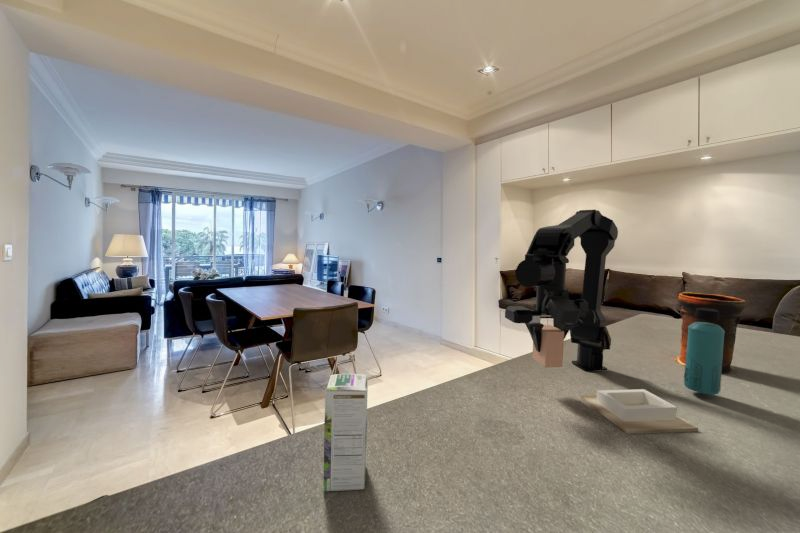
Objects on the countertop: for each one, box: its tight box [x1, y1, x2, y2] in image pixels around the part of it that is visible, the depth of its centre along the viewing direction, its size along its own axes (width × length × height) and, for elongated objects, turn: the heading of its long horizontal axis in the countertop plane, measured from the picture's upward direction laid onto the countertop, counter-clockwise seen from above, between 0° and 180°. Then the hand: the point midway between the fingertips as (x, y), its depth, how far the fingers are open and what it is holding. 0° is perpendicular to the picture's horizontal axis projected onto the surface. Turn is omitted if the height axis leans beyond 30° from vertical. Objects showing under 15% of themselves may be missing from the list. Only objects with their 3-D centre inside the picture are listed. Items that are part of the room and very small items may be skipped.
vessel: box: [674, 291, 747, 374], centre depth 99 cm, size 14×14×20 cm
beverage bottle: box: [683, 308, 725, 396], centre depth 79 cm, size 6×7×20 cm
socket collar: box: [596, 388, 678, 422], centre depth 70 cm, size 8×11×2 cm
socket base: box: [580, 394, 699, 435], centre depth 71 cm, size 14×14×1 cm
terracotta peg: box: [532, 324, 565, 368], centre depth 79 cm, size 6×4×8 cm, turn 5°
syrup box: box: [323, 373, 369, 492], centre depth 50 cm, size 6×6×14 cm
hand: (547, 351), depth 79 cm, fingers closed on terracotta peg, 4 cm apart
